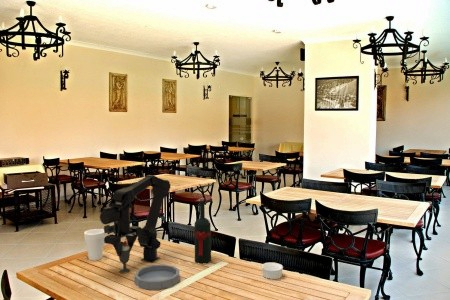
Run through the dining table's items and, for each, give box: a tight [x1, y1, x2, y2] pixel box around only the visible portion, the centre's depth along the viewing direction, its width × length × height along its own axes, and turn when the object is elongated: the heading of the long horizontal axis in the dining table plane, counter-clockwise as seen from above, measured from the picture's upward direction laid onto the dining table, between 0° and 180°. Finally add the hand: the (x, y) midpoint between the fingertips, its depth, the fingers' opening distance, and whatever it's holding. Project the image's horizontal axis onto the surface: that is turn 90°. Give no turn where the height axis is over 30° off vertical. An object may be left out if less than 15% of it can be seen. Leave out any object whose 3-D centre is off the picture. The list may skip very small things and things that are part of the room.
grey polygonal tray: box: [134, 264, 181, 291], centre depth 160 cm, size 18×18×3 cm
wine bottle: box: [193, 197, 212, 265], centre depth 180 cm, size 8×10×30 cm
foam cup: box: [83, 228, 106, 261], centre depth 187 cm, size 10×9×13 cm
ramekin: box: [261, 262, 284, 280], centre depth 164 cm, size 9×9×4 cm
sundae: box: [118, 238, 133, 274], centre depth 170 cm, size 7×7×15 cm
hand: (124, 253), depth 170 cm, fingers open, 6 cm apart
